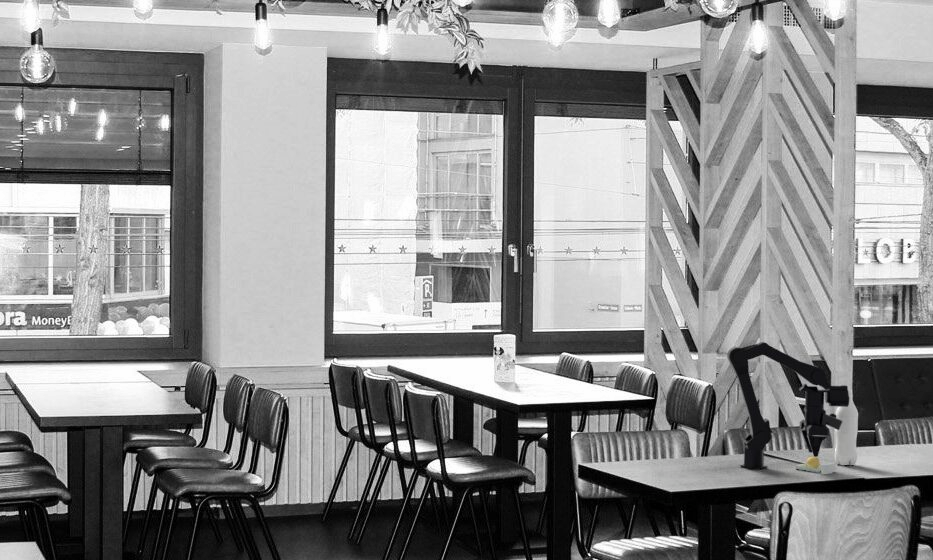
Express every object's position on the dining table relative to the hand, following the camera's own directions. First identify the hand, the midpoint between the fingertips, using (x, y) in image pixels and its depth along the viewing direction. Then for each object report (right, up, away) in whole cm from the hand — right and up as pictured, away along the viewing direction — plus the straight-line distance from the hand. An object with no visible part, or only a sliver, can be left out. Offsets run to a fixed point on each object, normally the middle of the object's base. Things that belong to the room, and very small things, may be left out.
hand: (813, 454), depth 375 cm
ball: (0, -3, -1) cm, 3 cm away
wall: (+3, -5, -6) cm, 8 cm away
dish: (0, -5, 0) cm, 5 cm away
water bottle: (+14, -6, +12) cm, 20 cm away
